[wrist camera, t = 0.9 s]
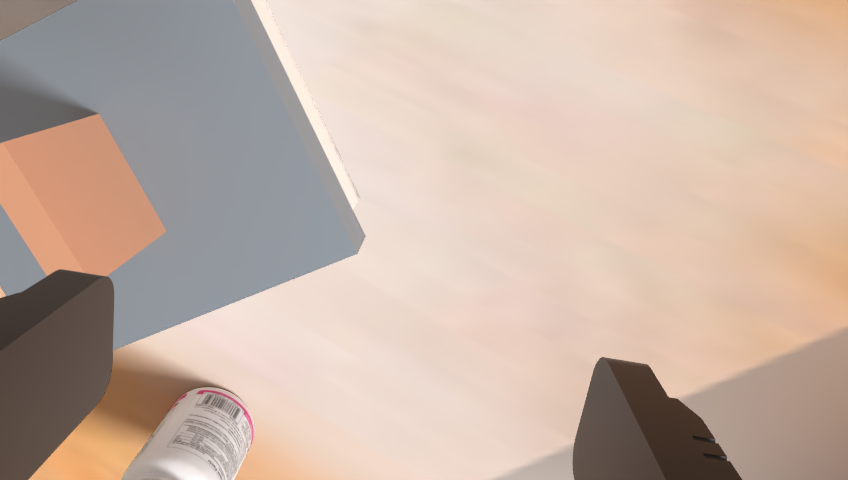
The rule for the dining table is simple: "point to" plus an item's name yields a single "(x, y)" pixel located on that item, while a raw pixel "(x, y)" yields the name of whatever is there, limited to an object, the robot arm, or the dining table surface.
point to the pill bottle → (197, 439)
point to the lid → (161, 160)
